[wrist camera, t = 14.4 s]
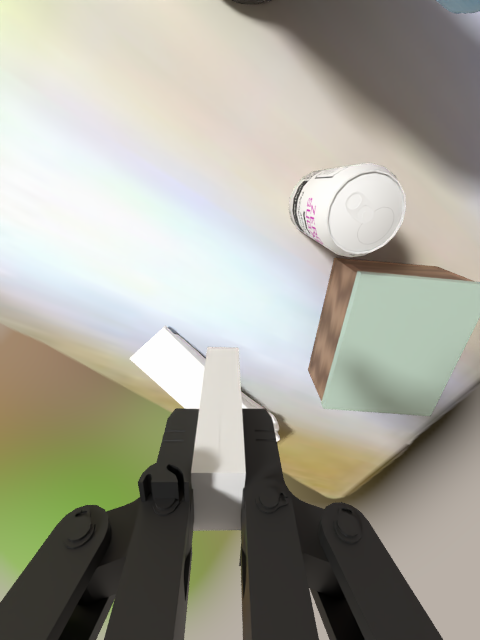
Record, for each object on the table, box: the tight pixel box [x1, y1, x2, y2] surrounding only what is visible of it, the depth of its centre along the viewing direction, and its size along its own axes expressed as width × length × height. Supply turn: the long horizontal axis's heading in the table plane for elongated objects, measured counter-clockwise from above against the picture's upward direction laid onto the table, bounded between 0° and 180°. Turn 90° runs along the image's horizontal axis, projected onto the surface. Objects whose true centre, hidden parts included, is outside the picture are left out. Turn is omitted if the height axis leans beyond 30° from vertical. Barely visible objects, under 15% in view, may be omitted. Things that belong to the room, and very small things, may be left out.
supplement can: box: [289, 163, 406, 257], centre depth 32 cm, size 8×8×15 cm
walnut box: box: [308, 258, 475, 401], centre depth 43 cm, size 20×17×8 cm
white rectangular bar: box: [130, 326, 280, 442], centre depth 51 cm, size 10×7×28 cm
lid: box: [321, 271, 480, 416], centre depth 39 cm, size 21×16×1 cm
